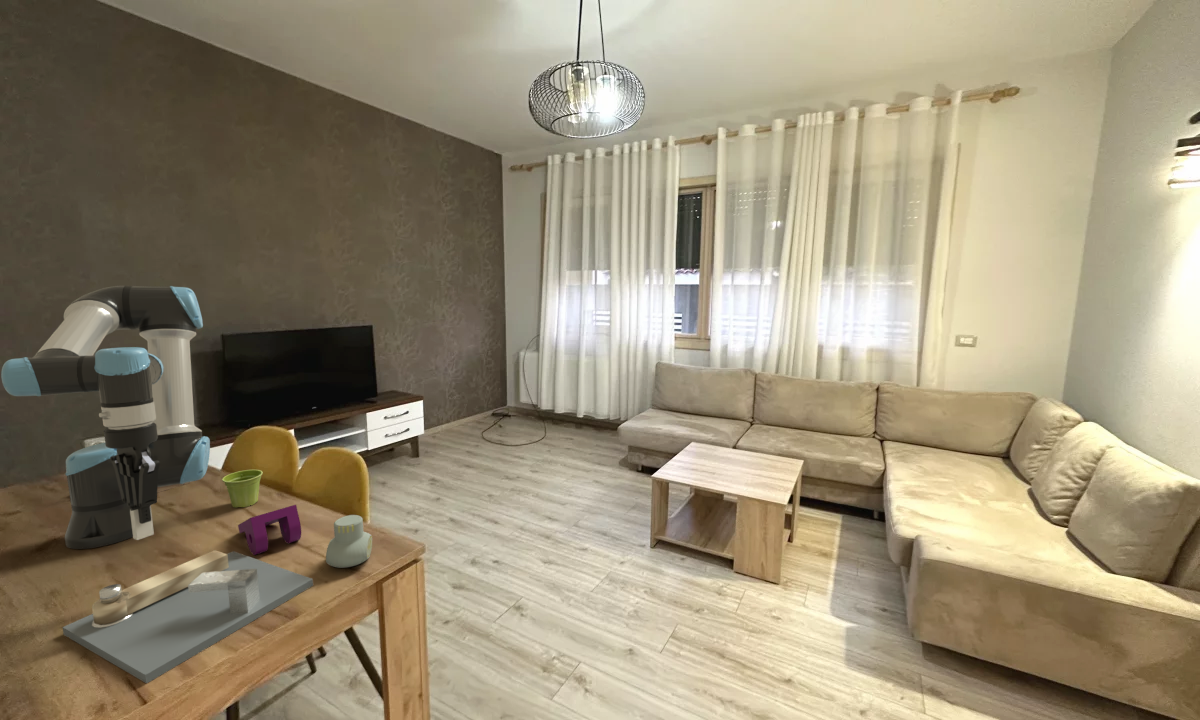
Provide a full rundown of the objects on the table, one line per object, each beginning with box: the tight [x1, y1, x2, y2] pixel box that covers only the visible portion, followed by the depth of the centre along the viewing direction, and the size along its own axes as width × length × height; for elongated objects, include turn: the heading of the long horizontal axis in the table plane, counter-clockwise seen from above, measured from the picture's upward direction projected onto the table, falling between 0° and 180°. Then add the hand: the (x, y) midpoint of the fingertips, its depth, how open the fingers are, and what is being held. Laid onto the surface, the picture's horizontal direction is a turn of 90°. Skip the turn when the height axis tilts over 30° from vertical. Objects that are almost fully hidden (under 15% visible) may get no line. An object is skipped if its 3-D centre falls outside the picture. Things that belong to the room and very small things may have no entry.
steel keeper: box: [188, 569, 260, 614], centre depth 90 cm, size 10×4×6 cm, turn 99°
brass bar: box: [91, 549, 229, 624], centre depth 94 cm, size 20×5×3 cm, turn 157°
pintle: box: [92, 583, 135, 628], centre depth 87 cm, size 6×6×6 cm
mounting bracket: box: [237, 504, 302, 556], centre depth 119 cm, size 9×8×18 cm
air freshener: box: [325, 514, 373, 569], centre depth 109 cm, size 11×8×10 cm
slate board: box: [62, 550, 314, 684], centre depth 93 cm, size 27×28×2 cm
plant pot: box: [221, 469, 263, 508], centre depth 138 cm, size 9×9×9 cm
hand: (143, 536), depth 97 cm, fingers closed
